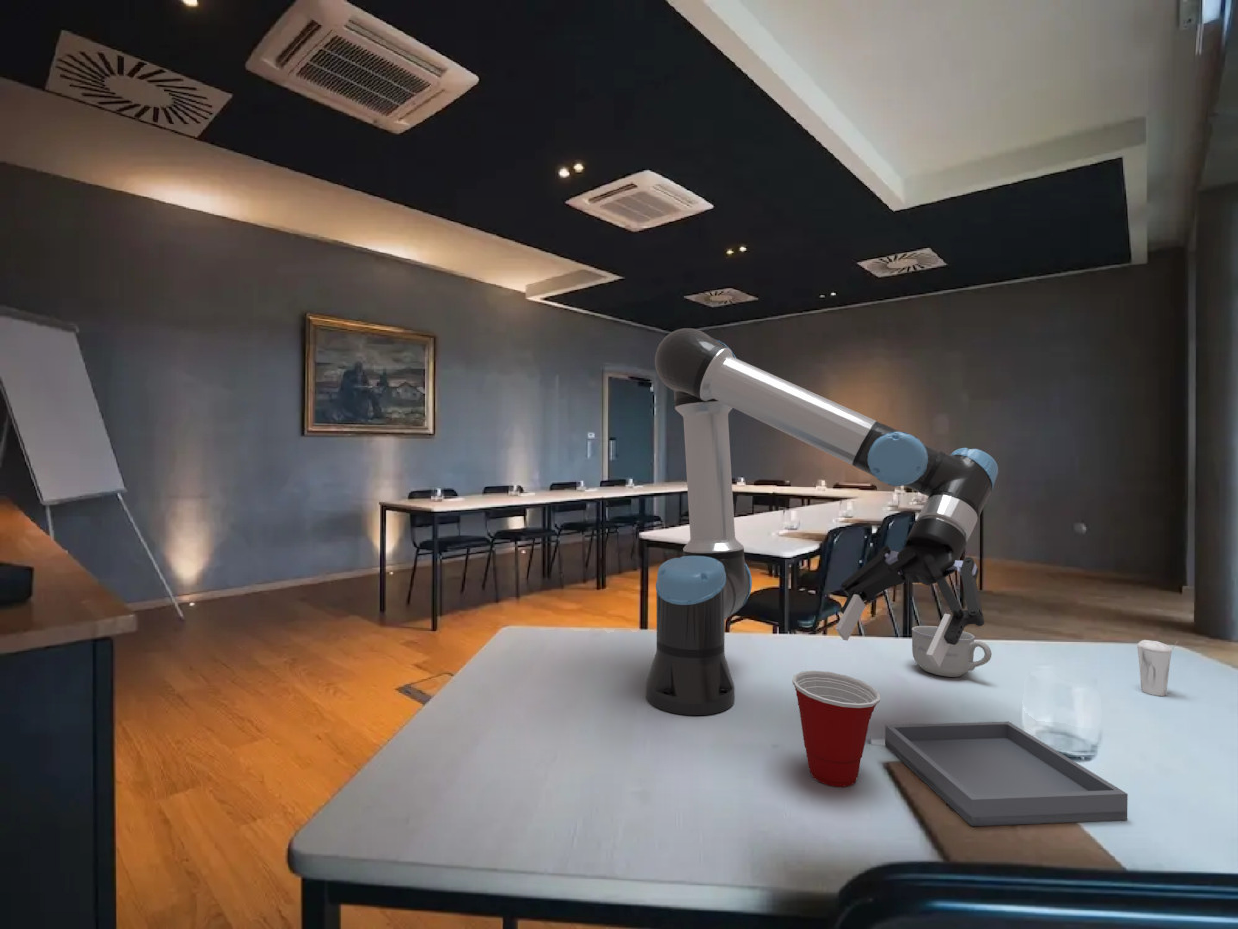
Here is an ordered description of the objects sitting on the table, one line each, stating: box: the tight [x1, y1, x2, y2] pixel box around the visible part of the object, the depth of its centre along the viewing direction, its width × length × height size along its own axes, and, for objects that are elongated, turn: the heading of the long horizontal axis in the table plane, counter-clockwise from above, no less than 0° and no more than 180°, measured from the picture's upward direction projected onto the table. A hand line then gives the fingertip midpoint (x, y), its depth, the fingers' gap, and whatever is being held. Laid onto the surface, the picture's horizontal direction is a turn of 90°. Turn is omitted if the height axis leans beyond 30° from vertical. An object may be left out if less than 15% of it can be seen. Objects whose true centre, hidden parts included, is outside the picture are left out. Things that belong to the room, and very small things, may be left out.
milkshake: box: [1136, 639, 1179, 697], centre depth 104 cm, size 4×5×10 cm
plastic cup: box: [791, 670, 881, 788], centre depth 76 cm, size 11×11×12 cm
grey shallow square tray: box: [884, 721, 1129, 827], centre depth 76 cm, size 19×19×3 cm
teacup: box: [911, 625, 992, 678], centre depth 113 cm, size 14×11×8 cm
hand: (883, 647), depth 82 cm, fingers open, 13 cm apart
